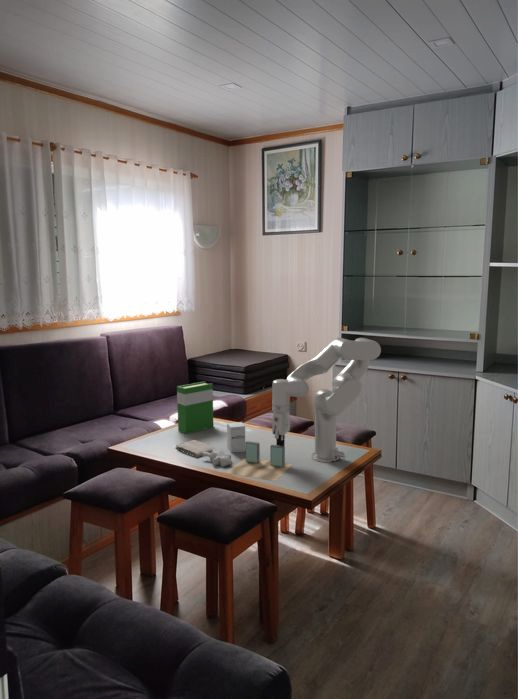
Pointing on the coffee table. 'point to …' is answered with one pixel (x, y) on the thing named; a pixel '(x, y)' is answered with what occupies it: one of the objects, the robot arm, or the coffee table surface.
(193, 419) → the hardback book
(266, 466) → the oak board
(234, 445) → the supplement box
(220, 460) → the bunny figurine
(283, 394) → the robot arm
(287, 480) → the coffee table surface
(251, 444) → the tile far
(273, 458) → the tile near
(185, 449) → the grey tracked toy vehicle
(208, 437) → the coffee table surface
